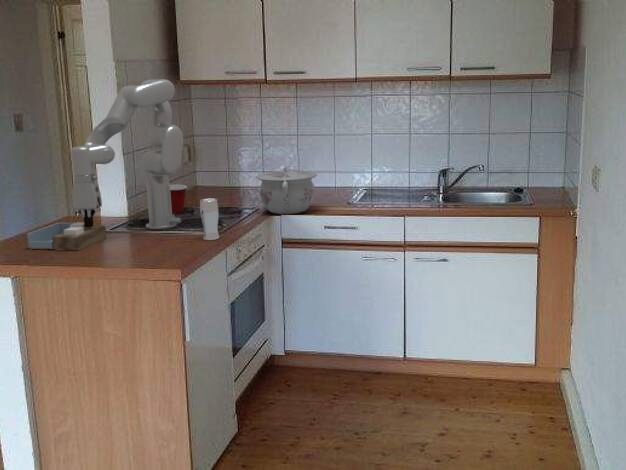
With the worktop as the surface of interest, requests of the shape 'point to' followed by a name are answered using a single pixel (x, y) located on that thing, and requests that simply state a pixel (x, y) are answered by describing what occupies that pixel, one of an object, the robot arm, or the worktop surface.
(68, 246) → the tan slab
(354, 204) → the worktop surface
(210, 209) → the beer glass
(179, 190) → the plastic cup
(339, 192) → the worktop surface
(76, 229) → the tile
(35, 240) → the box
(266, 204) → the chamber pot
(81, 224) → the tile
